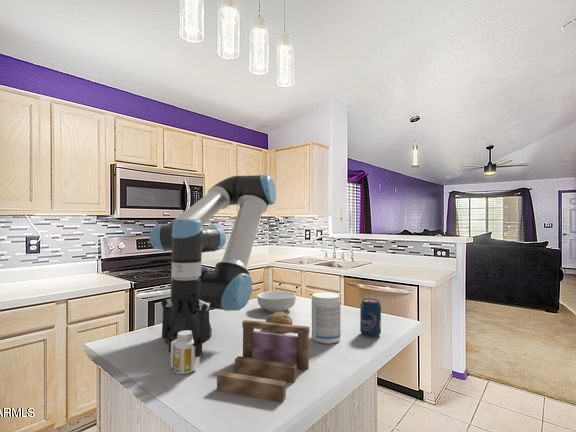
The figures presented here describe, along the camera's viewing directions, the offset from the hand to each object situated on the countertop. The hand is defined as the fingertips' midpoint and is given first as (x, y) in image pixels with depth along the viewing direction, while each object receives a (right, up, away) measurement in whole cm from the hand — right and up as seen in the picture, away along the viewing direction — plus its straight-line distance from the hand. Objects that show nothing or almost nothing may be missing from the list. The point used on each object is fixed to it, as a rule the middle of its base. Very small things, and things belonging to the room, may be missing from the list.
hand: (184, 366), depth 85 cm
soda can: (+56, -2, +28) cm, 62 cm away
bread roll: (+24, -2, +34) cm, 42 cm away
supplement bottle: (0, -1, 0) cm, 1 cm away
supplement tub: (+40, -2, +23) cm, 46 cm away
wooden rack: (+21, -1, -3) cm, 21 cm away
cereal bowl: (+22, -2, +58) cm, 62 cm away
